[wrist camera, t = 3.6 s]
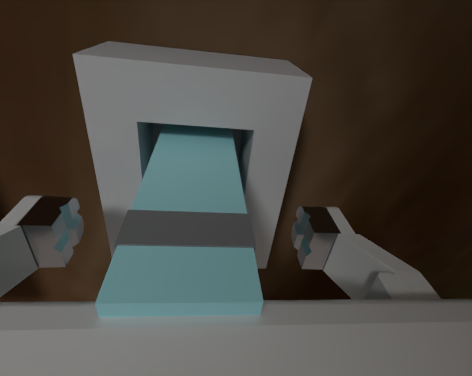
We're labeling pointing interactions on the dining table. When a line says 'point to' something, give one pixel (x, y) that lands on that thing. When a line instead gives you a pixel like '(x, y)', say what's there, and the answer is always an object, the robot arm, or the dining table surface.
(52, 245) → the robot arm
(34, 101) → the dining table surface
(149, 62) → the holster
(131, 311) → the plug
